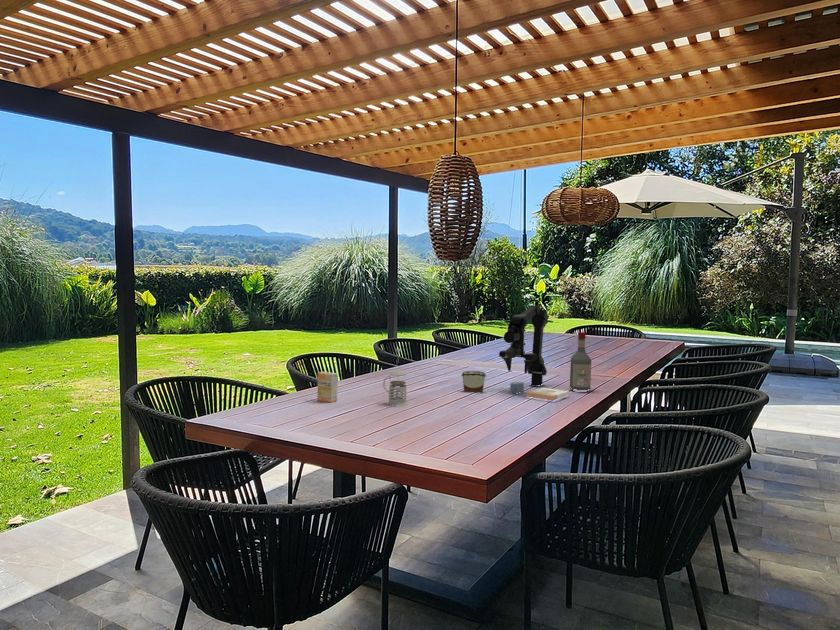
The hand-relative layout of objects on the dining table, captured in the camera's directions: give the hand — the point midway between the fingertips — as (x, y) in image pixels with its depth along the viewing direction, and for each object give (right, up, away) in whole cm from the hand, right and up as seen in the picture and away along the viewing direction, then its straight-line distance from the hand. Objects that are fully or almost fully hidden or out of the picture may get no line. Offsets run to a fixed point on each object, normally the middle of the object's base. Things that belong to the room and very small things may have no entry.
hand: (517, 372), depth 293 cm
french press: (-59, -12, -27) cm, 66 cm away
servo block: (0, -10, +1) cm, 11 cm away
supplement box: (-91, -11, -24) cm, 95 cm away
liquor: (+33, -11, +8) cm, 36 cm away
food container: (-22, -10, +3) cm, 24 cm away
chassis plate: (+13, -11, -10) cm, 20 cm away
